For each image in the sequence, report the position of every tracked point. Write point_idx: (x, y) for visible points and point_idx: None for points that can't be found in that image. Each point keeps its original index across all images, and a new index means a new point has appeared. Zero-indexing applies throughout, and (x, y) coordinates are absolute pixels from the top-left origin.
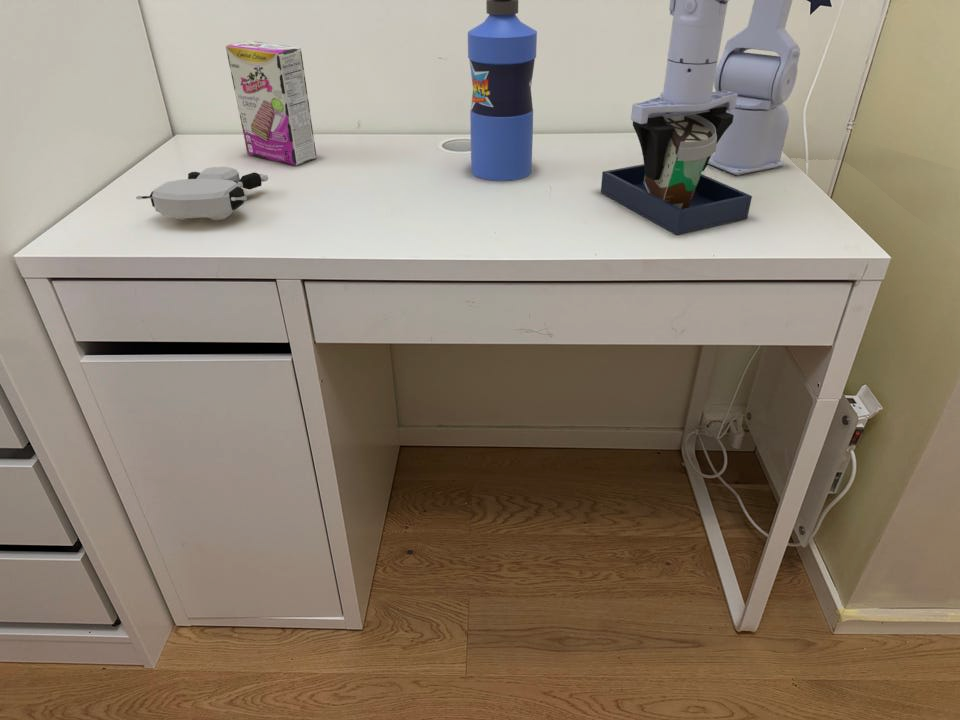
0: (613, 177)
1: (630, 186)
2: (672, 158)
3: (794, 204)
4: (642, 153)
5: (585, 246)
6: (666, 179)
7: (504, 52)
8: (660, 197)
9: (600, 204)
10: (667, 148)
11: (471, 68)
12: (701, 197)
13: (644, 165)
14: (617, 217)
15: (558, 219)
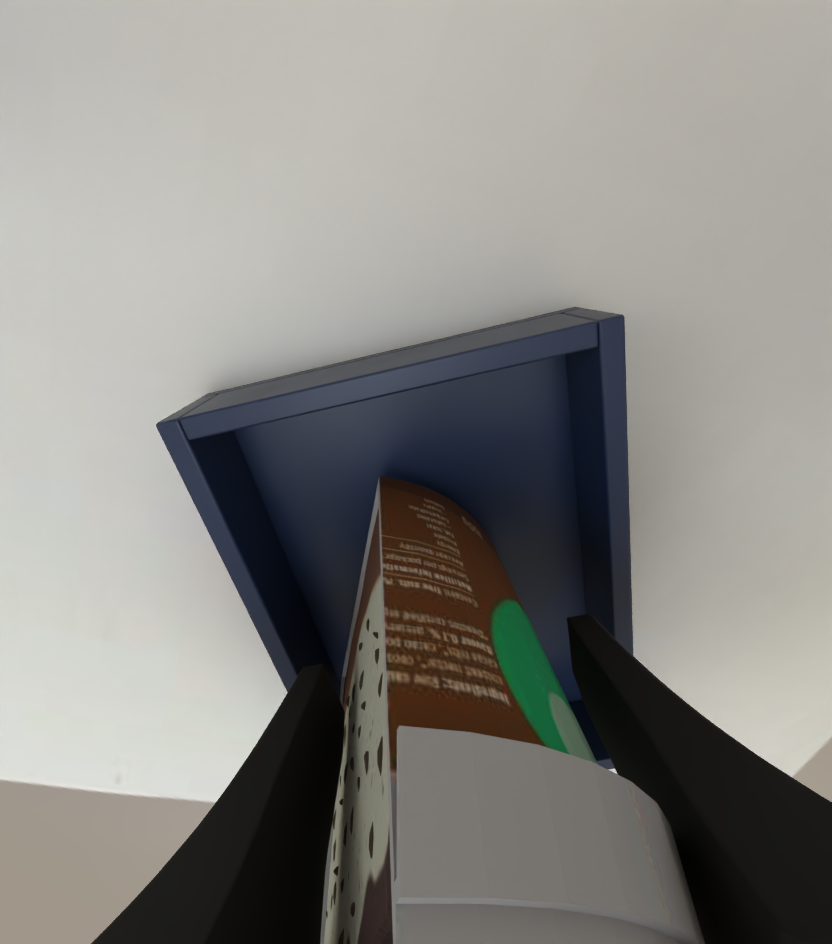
0: (200, 515)
1: (254, 621)
2: (327, 926)
3: (822, 639)
4: (242, 765)
5: (95, 746)
6: (337, 793)
7: None
8: (345, 697)
9: (184, 509)
10: (338, 895)
11: None
12: (568, 571)
13: (281, 705)
14: (223, 617)
15: (13, 594)
